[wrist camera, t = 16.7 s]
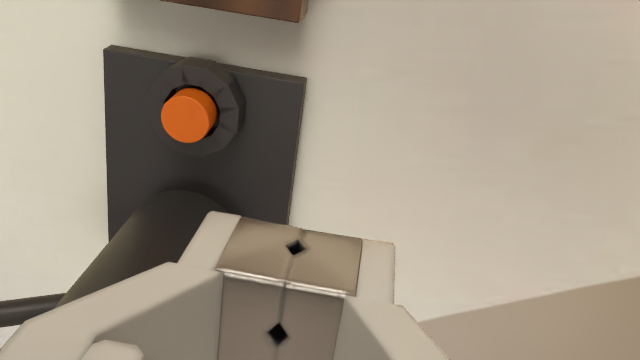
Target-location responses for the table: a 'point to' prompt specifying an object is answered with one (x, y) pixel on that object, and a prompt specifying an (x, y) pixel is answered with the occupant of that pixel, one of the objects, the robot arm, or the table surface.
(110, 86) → the button base
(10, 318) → the kettle
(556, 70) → the table surface
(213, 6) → the dial panel
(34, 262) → the table surface
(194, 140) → the button
